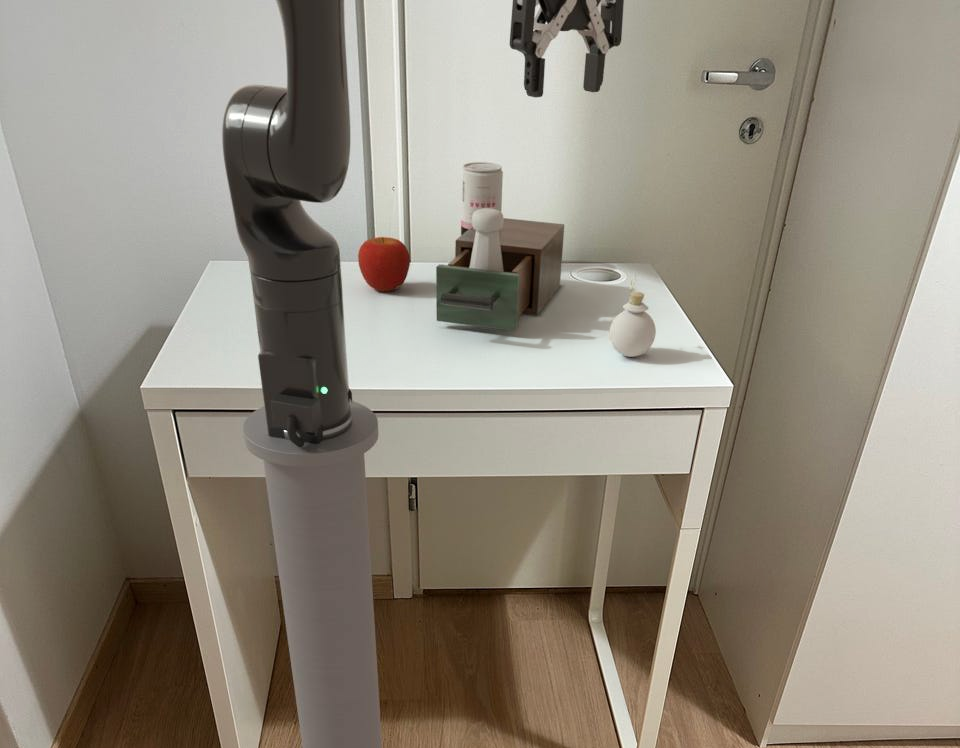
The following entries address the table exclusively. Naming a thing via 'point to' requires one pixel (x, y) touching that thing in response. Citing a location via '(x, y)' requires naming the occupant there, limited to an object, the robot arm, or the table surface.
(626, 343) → the ornament
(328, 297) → the robot arm
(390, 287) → the apple
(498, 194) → the beverage can
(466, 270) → the drawer
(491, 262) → the salt shaker
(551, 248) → the cabinet
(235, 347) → the table surface
